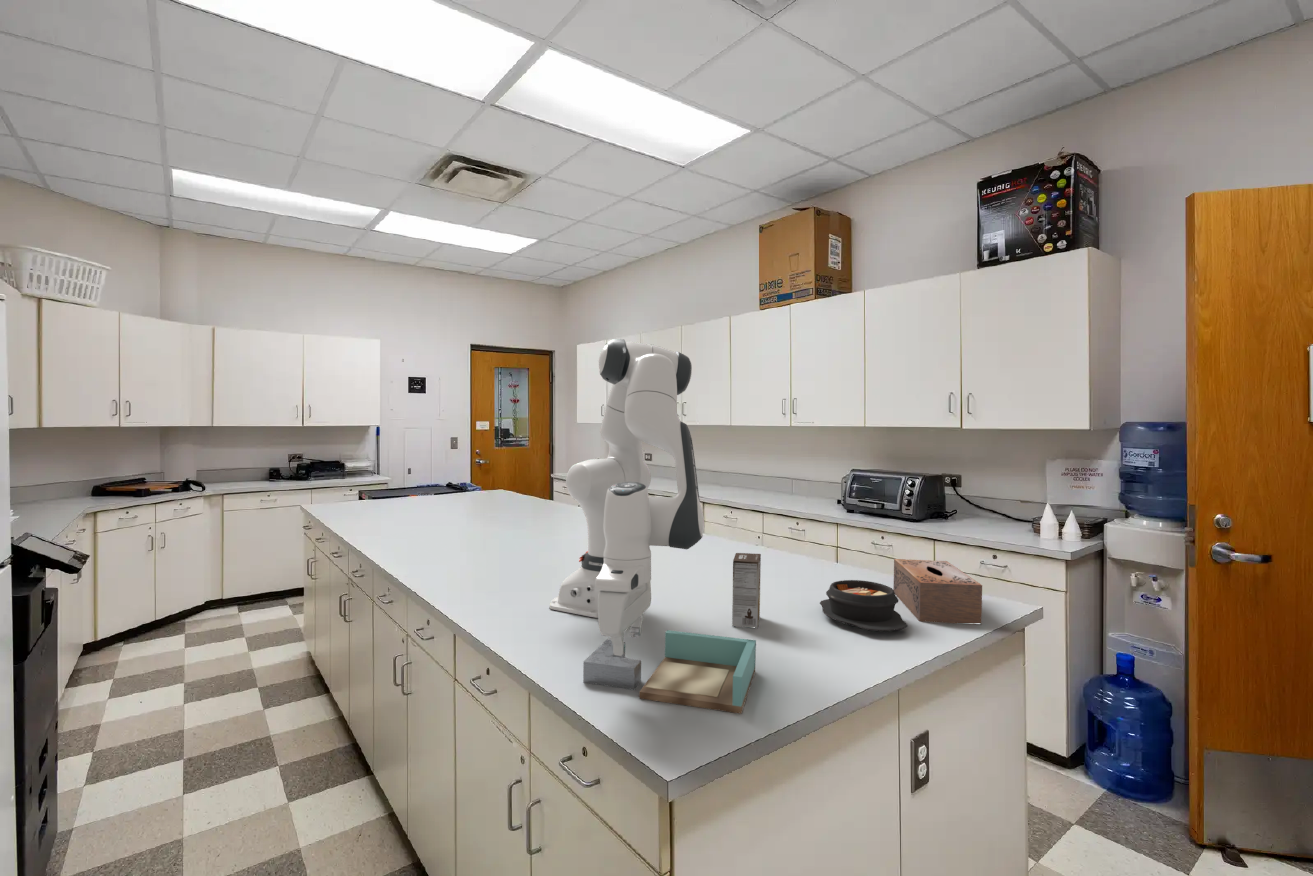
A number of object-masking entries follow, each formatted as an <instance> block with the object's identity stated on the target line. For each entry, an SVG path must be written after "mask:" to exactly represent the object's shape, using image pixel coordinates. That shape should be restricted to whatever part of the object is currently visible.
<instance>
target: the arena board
mask: <svg viewBox="0 0 1313 876" xmlns="http://www.w3.org/2000/svg"><path fill="white" fill-rule="evenodd" d="M736 667H737V666H731V665H723V664H716V663H708V662H700V661H692V660H684V659H676V658H669V657H665V656H664V657H663V659H662V661H661V662H660V663H659V665H658V666H657V667H656V669H655V670H654V672H652V674H651V675H650V677H649V678H648V679H647V681H645V683H644V685H643V686H642V688H641V689H640V690H639V693H638V694H639V696H638V697H639V700H640V699H641V700H647V701H648V700H649V701H653V702H654V701H655V702H661V703H666V704H674V705H681V706H687V707H694V708H701V709H705V710H706V709H707V710H714V711H722V712H727V713H734V714H739V715H740V714H743V710H744V706H745V703H746V701H747V697H748V695H749V691H750V688H751V686H752V683H753V680H754V678H755V677H754V676H755V675H756V674H755V673H756V667H755V668H754V671H753V674H752V677H751V680H750V683H749V686H748V689H747V692H746V695H745V697H744V700H743V703H742V706H741V707H740V706H733V705H732V703H733V675H734V672H735V670H736Z"/></svg>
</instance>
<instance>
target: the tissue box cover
mask: <svg viewBox="0 0 1313 876" xmlns="http://www.w3.org/2000/svg"><path fill="white" fill-rule="evenodd" d="M892 589H893V590H894V592H895V596H896V597H897V598H898V600H899V601H900V602H901V603H902V604H903V605H904V606H905V607H906V609H908V611H909V612H910V613H911V614H912V615H913V617H915V618H916V620H917V621H919V622H922V623H923V622H924V623H943V624H957V623H981V624H982V614H983V613H982V609H983V608H982V606H983V585H982V584H981V583H980V582H978V581H976V580H975V579H974V578H972V577H970V576H969V575H968V574H966V573H965V572H963V571H962V570H961V569H960V568H958V567H956V566H955V565H954V564H951V562H949V561H947V560H929V559H928V560H927V559H903V558H902V559H901V558H897V559H896V558H894V559H893V587H892Z"/></svg>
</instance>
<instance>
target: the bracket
mask: <svg viewBox="0 0 1313 876" xmlns="http://www.w3.org/2000/svg"><path fill="white" fill-rule="evenodd" d="M624 643H625V644H626V641H624ZM582 666H583V675H582V676H583V677H582V678H583V680H582V681H583V682H582V683H584V684H585V683H586V684H590V685H591V684H592V685H598V686H603V687H604V686H605V687H612V688H618V689H626V690H631V691H634V690H636V688H637V687H638V686H639V685H640V683H641V681H642V659H635V658H627V657H626V651H625V652H624V654H623V655H622V656H617V655H614V653H613V644H612V641H611V639H606V640H605V641H603V643H602V644H601V645H599V646H598V647H597V648H596V649H595V650H594V651H593V652H592V653H591V654H589V656H588V657H586V658H585V660H583V665H582Z"/></svg>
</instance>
